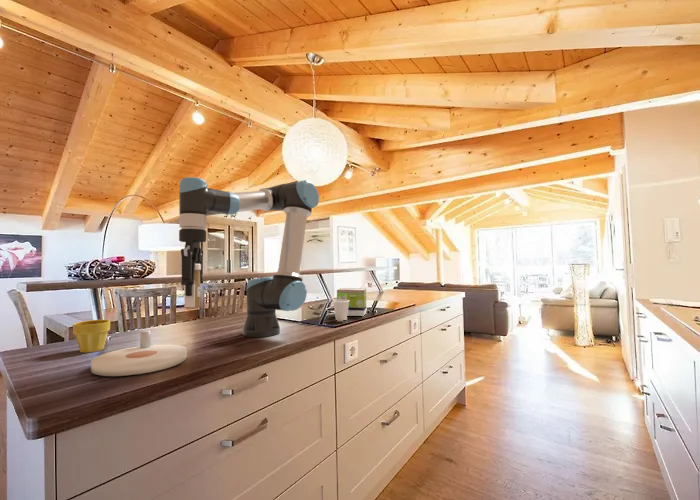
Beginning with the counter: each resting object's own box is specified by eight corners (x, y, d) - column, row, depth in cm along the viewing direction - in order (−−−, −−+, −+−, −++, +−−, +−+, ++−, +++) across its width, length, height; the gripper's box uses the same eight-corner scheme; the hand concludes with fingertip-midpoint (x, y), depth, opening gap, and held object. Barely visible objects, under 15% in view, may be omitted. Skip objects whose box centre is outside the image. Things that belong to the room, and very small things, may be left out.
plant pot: (90, 354, 113) (90, 325, 114) (64, 353, 116) (65, 324, 116) (117, 347, 124) (117, 319, 124) (93, 346, 126) (93, 319, 126)
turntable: (186, 348, 118) (187, 326, 118) (186, 368, 96) (186, 341, 96) (102, 357, 108) (102, 333, 108) (79, 381, 86) (79, 351, 86)
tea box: (336, 317, 184) (336, 289, 185) (340, 314, 194) (339, 287, 195) (364, 317, 182) (364, 289, 182) (366, 314, 192) (366, 287, 192)
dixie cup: (331, 321, 170) (331, 301, 170) (334, 318, 178) (334, 299, 178) (348, 321, 169) (348, 301, 169) (350, 319, 177) (350, 299, 177)
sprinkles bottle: (203, 307, 105) (204, 263, 105) (190, 309, 101) (190, 263, 102) (194, 306, 107) (194, 263, 108) (180, 308, 103) (181, 263, 104)
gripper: (189, 231, 113) (189, 303, 112) (168, 225, 96) (167, 310, 95) (213, 231, 114) (213, 302, 113) (196, 226, 97) (196, 309, 96)
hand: (192, 305), depth 104 cm, fingers closed on sprinkles bottle, 4 cm apart
